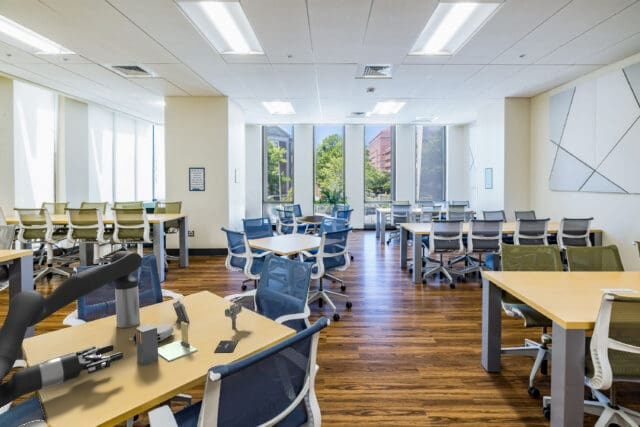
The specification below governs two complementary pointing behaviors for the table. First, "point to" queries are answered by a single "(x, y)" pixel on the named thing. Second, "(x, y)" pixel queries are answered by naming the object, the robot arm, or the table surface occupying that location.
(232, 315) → the mechanical component
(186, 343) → the board
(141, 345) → the plug block
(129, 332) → the table surface
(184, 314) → the electrical switch
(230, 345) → the solid state drive
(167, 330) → the robot toy
